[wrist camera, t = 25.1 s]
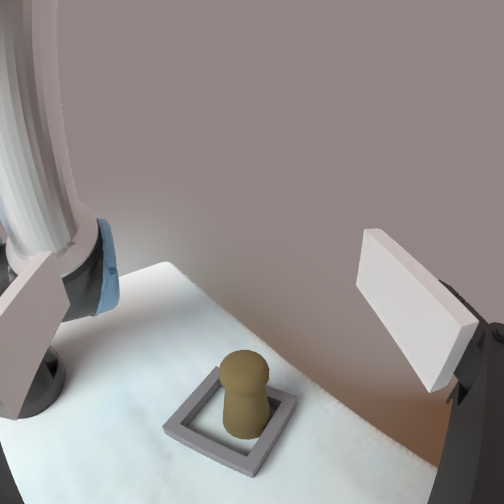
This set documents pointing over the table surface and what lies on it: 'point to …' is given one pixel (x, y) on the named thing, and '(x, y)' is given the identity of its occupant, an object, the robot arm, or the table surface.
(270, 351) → the table surface
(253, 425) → the cork
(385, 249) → the robot arm
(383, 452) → the table surface
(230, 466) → the gray square frame
